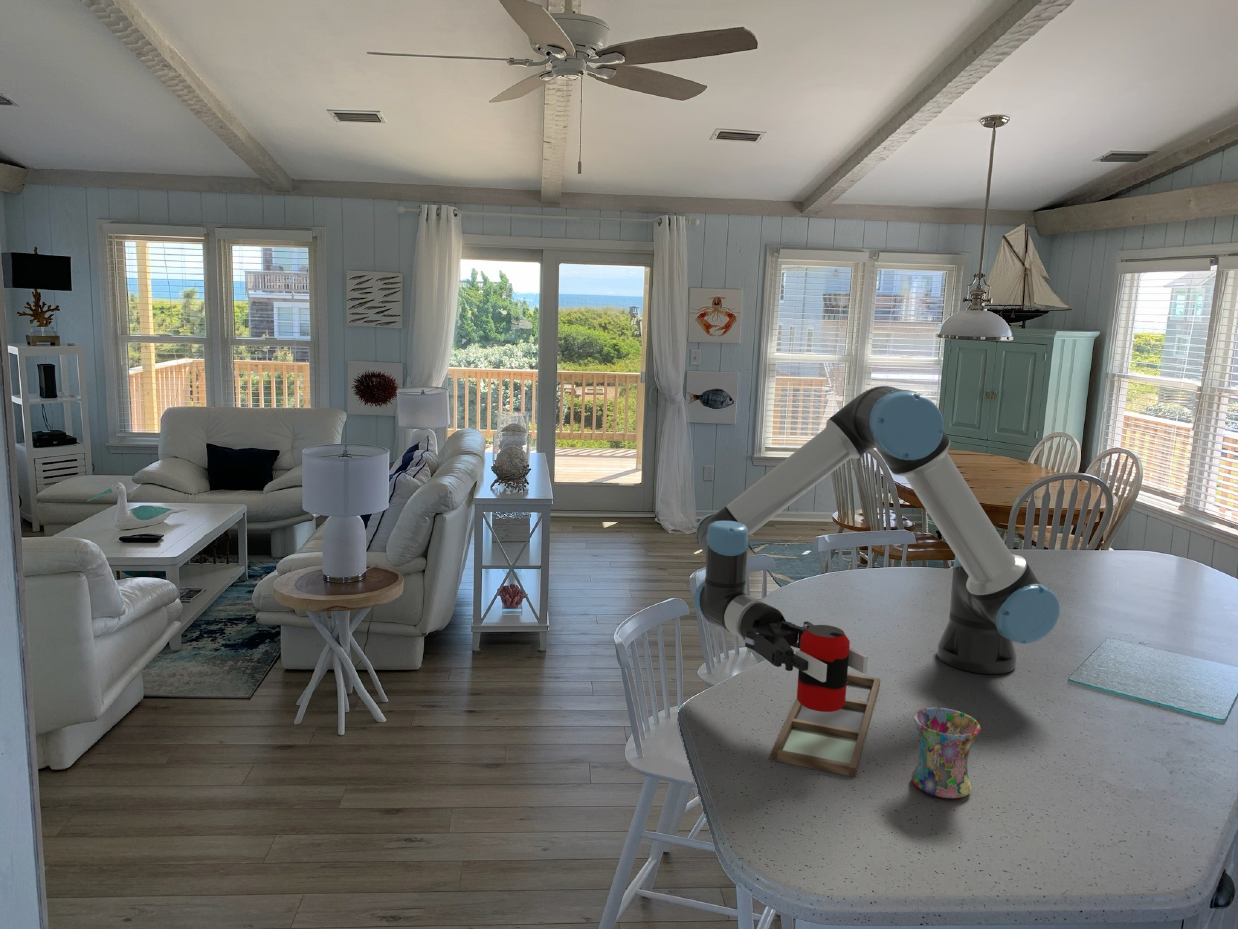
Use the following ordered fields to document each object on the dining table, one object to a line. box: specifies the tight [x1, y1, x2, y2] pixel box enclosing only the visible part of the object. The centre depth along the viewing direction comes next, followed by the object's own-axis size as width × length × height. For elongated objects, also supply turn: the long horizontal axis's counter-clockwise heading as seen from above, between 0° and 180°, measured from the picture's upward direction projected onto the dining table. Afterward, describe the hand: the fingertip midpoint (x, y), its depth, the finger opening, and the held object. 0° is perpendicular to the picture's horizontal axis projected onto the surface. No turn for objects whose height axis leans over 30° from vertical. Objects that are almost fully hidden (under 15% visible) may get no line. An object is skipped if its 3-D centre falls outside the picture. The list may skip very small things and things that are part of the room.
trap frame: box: [770, 672, 881, 778], centre depth 153 cm, size 13×37×2 cm, turn 158°
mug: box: [911, 707, 981, 799], centre depth 130 cm, size 12×9×11 cm
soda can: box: [796, 624, 851, 712], centre depth 140 cm, size 8×8×12 cm
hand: (845, 669), depth 135 cm, fingers closed on soda can, 7 cm apart
